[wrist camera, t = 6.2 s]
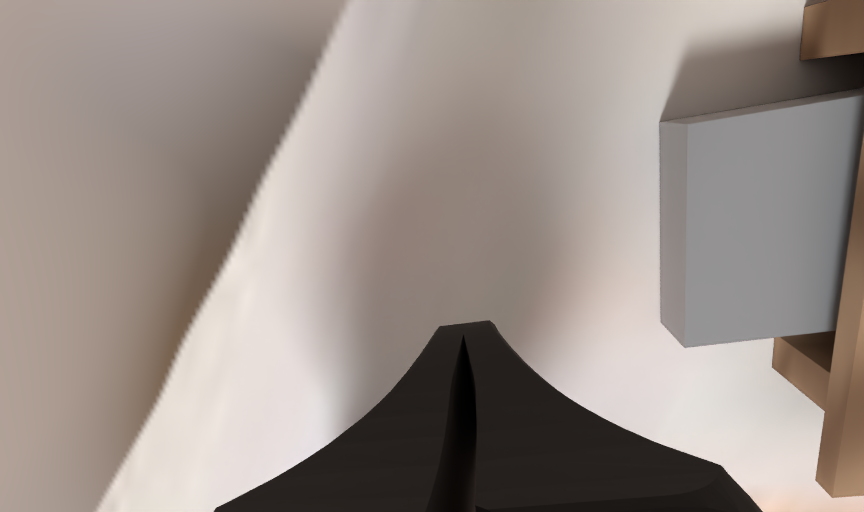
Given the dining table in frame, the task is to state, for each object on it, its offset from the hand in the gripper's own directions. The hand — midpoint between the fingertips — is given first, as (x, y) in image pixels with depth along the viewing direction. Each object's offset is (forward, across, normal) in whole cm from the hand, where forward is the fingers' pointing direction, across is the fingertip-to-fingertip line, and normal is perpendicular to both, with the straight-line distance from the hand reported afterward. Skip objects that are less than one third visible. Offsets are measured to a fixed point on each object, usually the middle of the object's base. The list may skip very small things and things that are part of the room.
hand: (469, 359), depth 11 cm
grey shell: (+7, -13, 0) cm, 15 cm away
